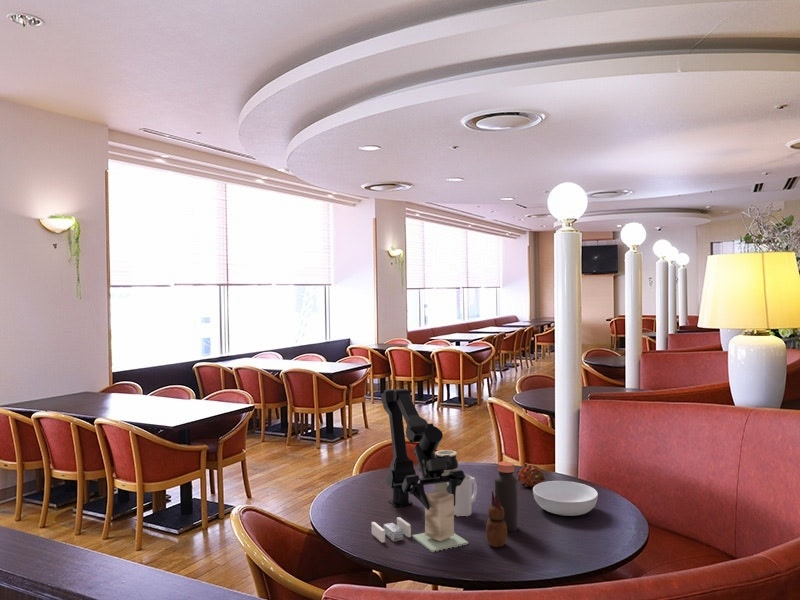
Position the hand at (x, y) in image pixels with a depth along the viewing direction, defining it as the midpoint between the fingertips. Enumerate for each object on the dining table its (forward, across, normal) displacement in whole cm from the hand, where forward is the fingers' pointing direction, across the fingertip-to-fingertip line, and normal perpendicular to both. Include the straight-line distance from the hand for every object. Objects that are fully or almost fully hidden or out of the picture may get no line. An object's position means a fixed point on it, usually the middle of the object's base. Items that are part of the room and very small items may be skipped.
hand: (441, 507), depth 181 cm
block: (+5, 0, +7) cm, 9 cm away
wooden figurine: (+12, +14, +2) cm, 19 cm away
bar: (+1, -12, +14) cm, 18 cm away
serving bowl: (+1, +48, +14) cm, 50 cm away
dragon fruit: (-18, +51, +33) cm, 63 cm away
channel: (0, -12, +14) cm, 19 cm away
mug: (-6, +17, +21) cm, 28 cm away
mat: (+6, 0, +8) cm, 10 cm away
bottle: (+5, +23, +10) cm, 25 cm away
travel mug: (-12, +14, +27) cm, 33 cm away
